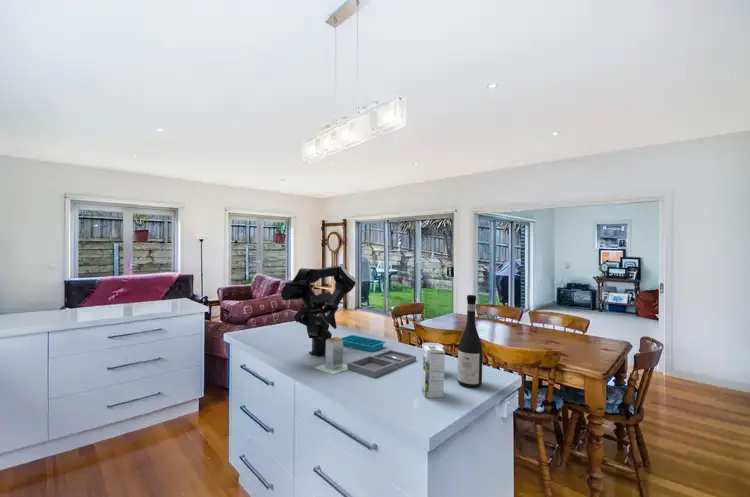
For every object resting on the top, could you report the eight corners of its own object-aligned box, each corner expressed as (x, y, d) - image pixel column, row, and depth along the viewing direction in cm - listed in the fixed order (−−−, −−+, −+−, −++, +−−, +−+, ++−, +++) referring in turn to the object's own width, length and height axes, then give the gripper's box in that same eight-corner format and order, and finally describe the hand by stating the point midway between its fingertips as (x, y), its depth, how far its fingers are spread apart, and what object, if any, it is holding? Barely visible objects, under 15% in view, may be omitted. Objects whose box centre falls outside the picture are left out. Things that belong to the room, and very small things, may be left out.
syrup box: (421, 390, 112) (422, 345, 112) (439, 390, 112) (440, 345, 112) (425, 398, 106) (426, 350, 106) (444, 397, 106) (445, 350, 106)
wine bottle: (477, 390, 113) (480, 297, 113) (454, 385, 117) (456, 295, 117) (484, 383, 119) (486, 295, 120) (461, 378, 124) (463, 293, 124)
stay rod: (383, 357, 143) (383, 354, 143) (385, 356, 144) (385, 354, 144) (403, 362, 137) (403, 359, 137) (404, 361, 138) (404, 359, 138)
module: (325, 367, 129) (325, 339, 129) (334, 364, 133) (335, 336, 133) (332, 370, 127) (333, 341, 127) (342, 366, 131) (343, 338, 131)
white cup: (444, 370, 131) (445, 343, 131) (441, 377, 123) (442, 349, 124) (423, 367, 133) (424, 341, 134) (419, 374, 126) (420, 346, 126)
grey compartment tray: (347, 369, 129) (347, 362, 129) (390, 354, 150) (390, 348, 150) (374, 378, 121) (374, 371, 121) (416, 361, 141) (416, 354, 141)
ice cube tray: (372, 353, 151) (372, 346, 151) (336, 345, 162) (336, 339, 162) (386, 348, 160) (386, 341, 161) (351, 340, 172) (351, 334, 172)
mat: (314, 368, 129) (314, 367, 129) (334, 362, 137) (334, 361, 137) (333, 375, 123) (333, 373, 123) (352, 368, 131) (352, 367, 131)
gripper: (300, 286, 129) (319, 320, 122) (336, 283, 144) (355, 314, 137) (286, 305, 134) (304, 339, 127) (322, 300, 148) (339, 331, 142)
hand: (327, 330), depth 133 cm, fingers open, 9 cm apart
